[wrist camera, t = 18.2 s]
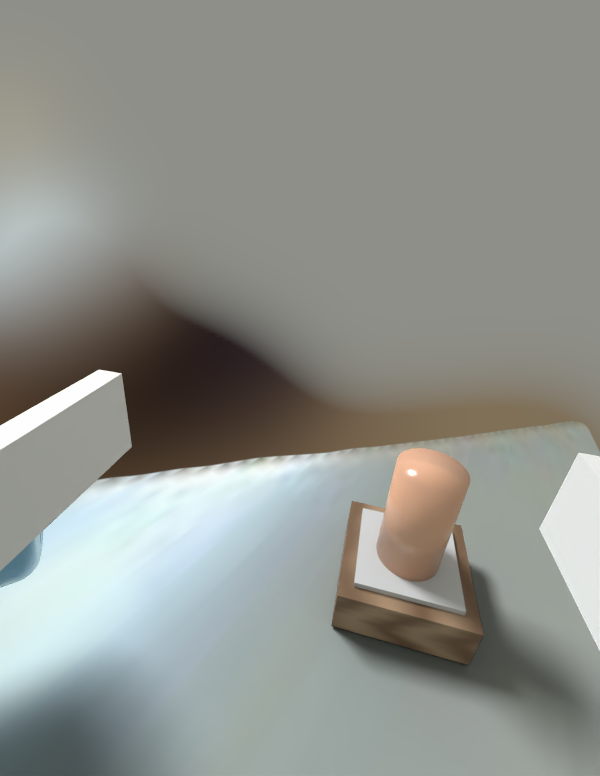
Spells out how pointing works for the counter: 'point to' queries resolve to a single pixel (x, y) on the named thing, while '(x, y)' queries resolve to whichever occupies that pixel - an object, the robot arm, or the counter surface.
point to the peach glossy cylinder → (421, 512)
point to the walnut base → (406, 595)
